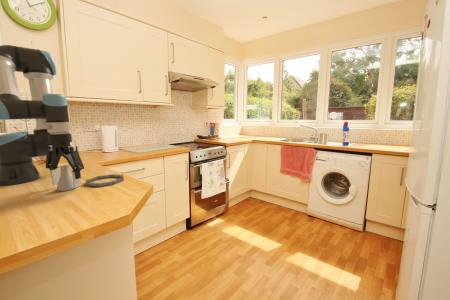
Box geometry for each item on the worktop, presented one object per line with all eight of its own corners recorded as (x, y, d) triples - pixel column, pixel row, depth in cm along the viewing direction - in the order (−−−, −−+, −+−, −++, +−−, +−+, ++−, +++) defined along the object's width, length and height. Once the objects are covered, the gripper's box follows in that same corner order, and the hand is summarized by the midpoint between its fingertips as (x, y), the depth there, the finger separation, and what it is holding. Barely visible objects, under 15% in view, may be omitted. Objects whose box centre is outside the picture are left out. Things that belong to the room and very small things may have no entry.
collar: (78, 185, 93) (77, 180, 93) (105, 176, 108) (105, 171, 107) (105, 187, 89) (105, 182, 89) (130, 177, 104) (130, 173, 103)
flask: (66, 192, 85) (63, 168, 84) (52, 191, 87) (48, 167, 85) (82, 186, 92) (79, 164, 91) (68, 185, 94) (65, 163, 92)
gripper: (28, 133, 85) (37, 186, 89) (72, 134, 79) (80, 190, 82) (48, 132, 92) (55, 180, 96) (90, 132, 86) (96, 184, 89)
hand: (67, 185), depth 89 cm, fingers open, 11 cm apart
